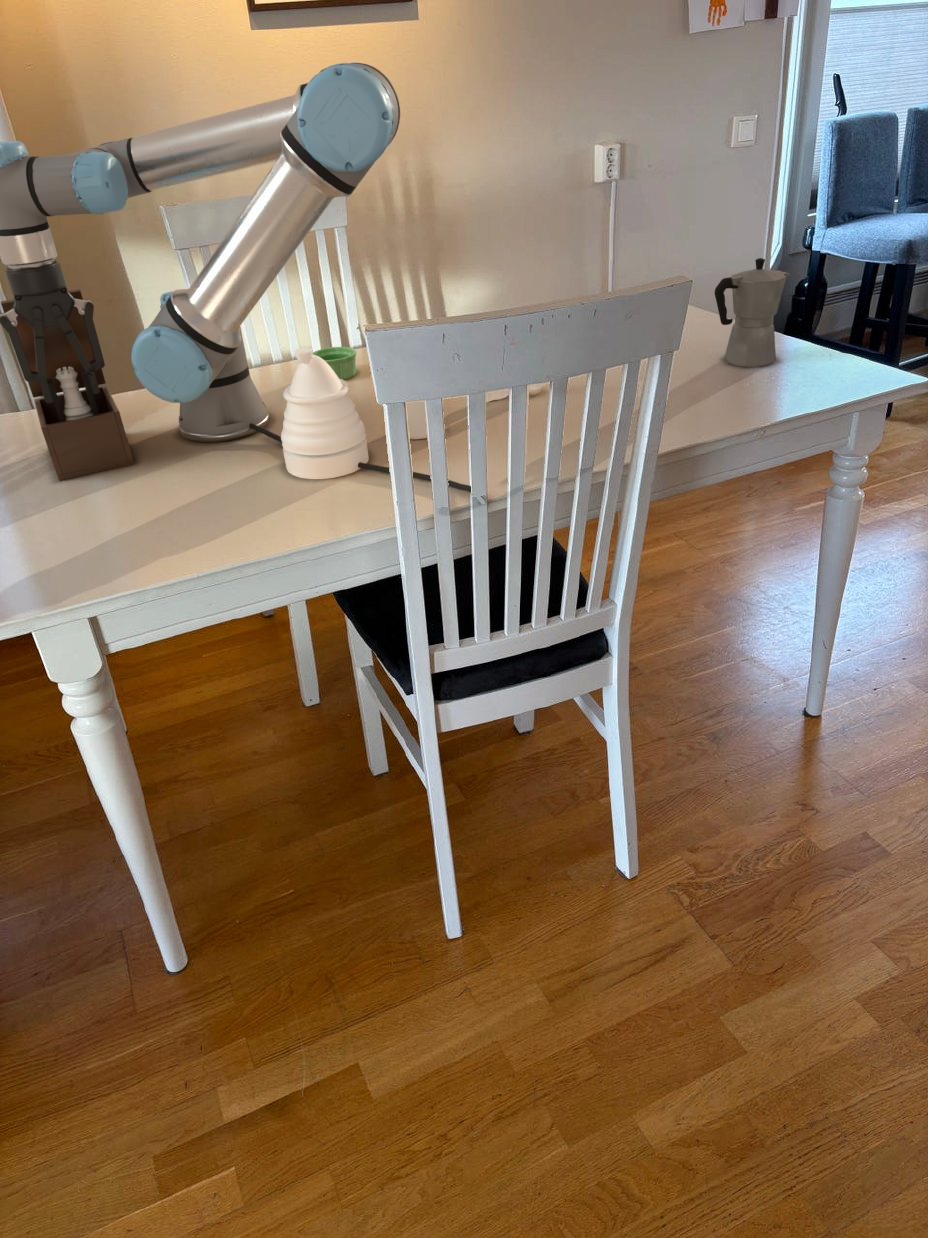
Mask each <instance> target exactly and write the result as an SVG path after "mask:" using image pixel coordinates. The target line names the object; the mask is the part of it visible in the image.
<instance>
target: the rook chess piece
mask: <svg viewBox="0 0 928 1238" xmlns="http://www.w3.org/2000/svg"><path fill="white" fill-rule="evenodd" d="M68 369H69V370H67V369H66V367H63V371H61V369H60V368H59V369H57V370H56V372H57V375H56V379H58V380H59V381H60V383H61V385H60V387H61V388H62V390H63V392H62V394H64V399H65V405H64V407H65V408H64V410H63V414H64V415H65V416H66V417H65V420H66V421H68V420H73V419H78V418H83V417H88V416H92V415H94V414H93V412H91V406H90V405H89V404H87V402H86V401H85V400H84V398H83V397H82V394H81V392H80V390H81V389H79V387H78V385H79V383H78V382H77V381H76V377H77V375H78V374H77V372H75V371H74V369H73V368H72V367H68Z"/></svg>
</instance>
